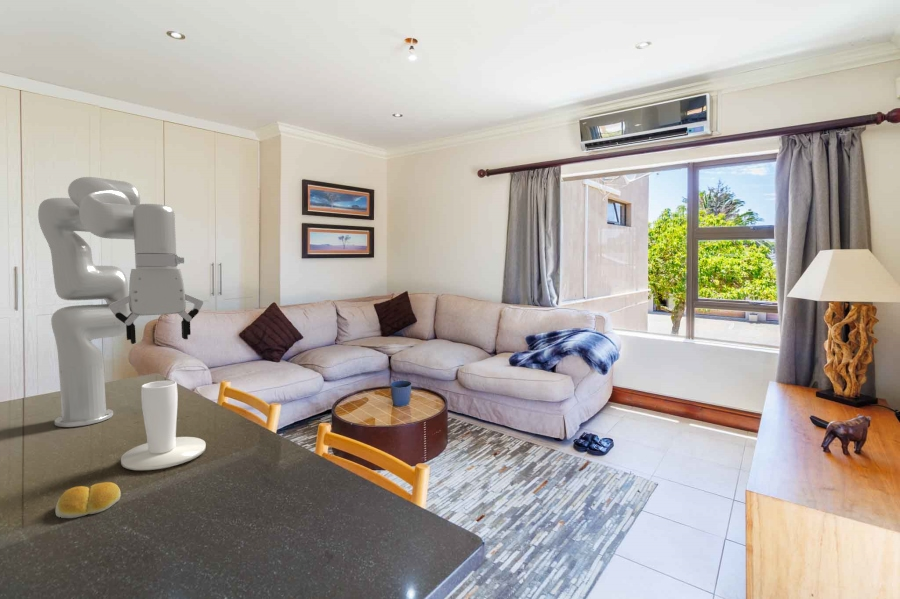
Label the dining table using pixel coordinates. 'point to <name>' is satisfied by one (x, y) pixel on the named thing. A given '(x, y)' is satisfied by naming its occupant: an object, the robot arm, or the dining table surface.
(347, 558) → the dining table surface
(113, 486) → the bread roll
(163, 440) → the white cup
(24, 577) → the dining table surface
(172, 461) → the cream dish
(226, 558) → the dining table surface
